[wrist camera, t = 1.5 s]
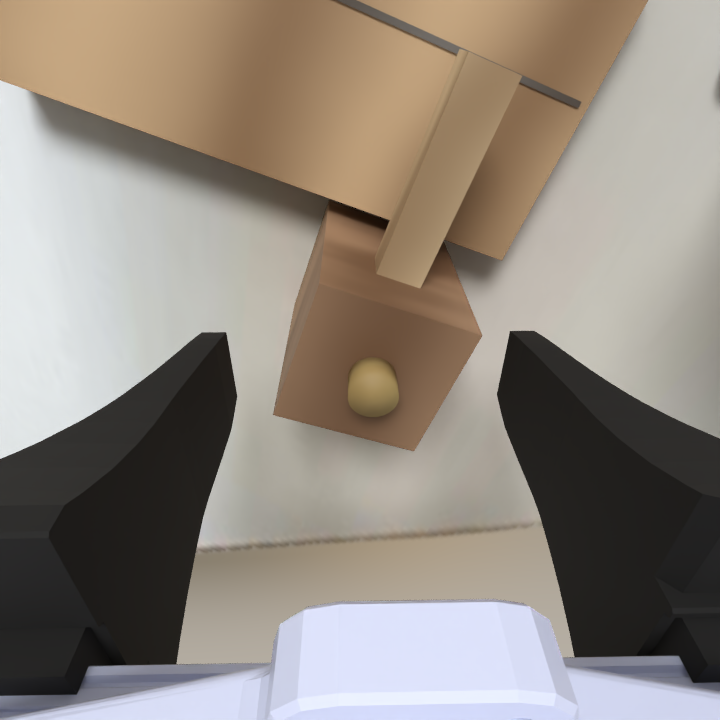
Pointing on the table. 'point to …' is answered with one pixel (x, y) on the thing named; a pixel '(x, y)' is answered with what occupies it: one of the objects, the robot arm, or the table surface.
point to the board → (327, 85)
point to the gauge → (395, 284)
